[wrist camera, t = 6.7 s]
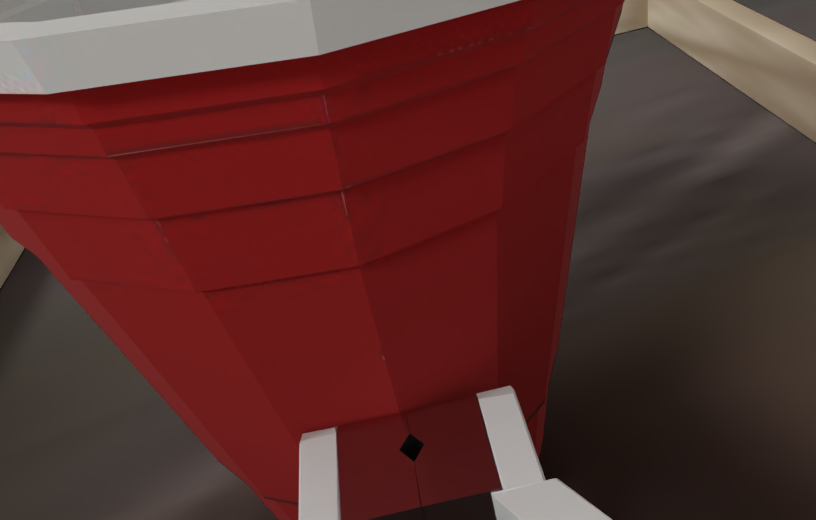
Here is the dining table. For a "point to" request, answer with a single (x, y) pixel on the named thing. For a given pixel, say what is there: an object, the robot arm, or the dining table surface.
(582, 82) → the plastic cup
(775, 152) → the dining table surface
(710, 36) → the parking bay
